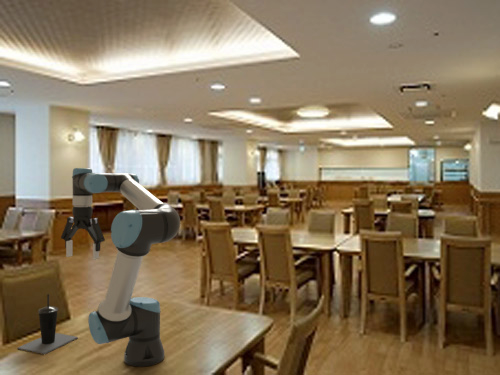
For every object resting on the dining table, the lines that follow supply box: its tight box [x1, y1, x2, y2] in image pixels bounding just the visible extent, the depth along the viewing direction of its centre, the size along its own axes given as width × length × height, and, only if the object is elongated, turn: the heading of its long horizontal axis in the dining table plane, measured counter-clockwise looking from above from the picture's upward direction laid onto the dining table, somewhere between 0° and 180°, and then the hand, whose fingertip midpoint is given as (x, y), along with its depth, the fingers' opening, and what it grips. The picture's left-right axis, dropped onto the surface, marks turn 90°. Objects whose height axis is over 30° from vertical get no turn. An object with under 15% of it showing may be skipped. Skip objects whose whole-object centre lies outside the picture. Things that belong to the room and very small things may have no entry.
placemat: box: [17, 332, 79, 355], centre depth 180 cm, size 14×18×1 cm
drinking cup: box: [37, 293, 59, 344], centre depth 180 cm, size 8×8×20 cm
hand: (82, 257), depth 176 cm, fingers open, 13 cm apart
